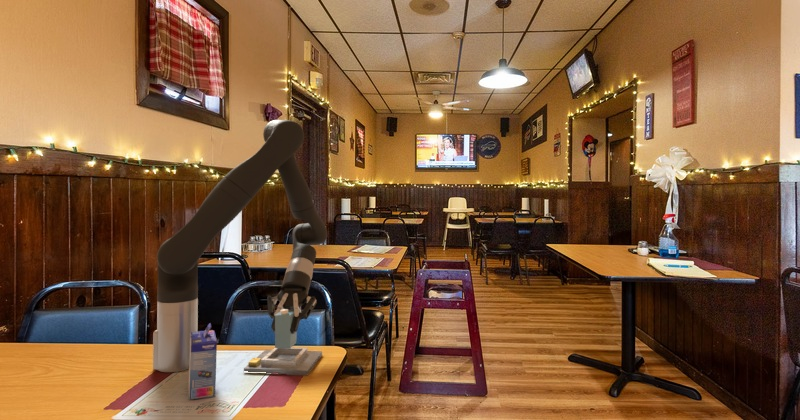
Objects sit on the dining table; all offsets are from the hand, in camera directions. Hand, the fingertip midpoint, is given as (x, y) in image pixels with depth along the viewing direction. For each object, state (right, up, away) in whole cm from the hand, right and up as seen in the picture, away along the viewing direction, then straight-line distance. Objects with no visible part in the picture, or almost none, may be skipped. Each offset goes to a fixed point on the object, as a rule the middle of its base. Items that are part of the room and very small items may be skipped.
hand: (283, 331), depth 107 cm
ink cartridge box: (-14, -9, -14) cm, 22 cm away
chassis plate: (0, -9, +2) cm, 9 cm away
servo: (0, -4, +2) cm, 4 cm away
